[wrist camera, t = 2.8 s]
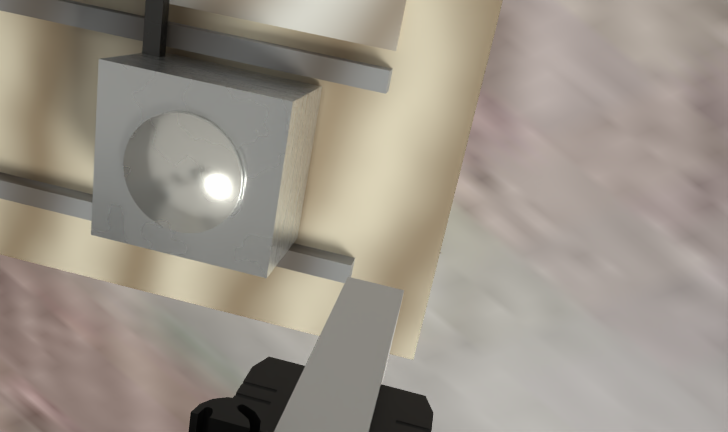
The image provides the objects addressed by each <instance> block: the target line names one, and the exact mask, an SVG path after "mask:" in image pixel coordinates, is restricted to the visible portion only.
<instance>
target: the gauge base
mask: <svg viewBox="0 0 728 432" xmlns="http://www.w3.org/2000/svg"><path fill="white" fill-rule="evenodd" d="M502 1H503V0H170V2H169V15H168V27H167V40H166V53H171V54H175V55H180V56H185V57H189V58H194V59H198V60H203V61H208V62H212V63H217V64H222V65H226V66H231V67H235V68H240V69H245V70H249V71H254V72H258V73H263V74H268V75H272V76H277V77H281V78H286V79H291V80H295V81H300V82H304V83H309V84H314V85H318V86H322V91H321V97H320V103H319V109H318V115H317V122H316V128H315V134H314V140H313V146H312V152H311V158H310V164H309V170H308V176H307V182H306V189H305V195H304V201H303V207H302V213H301V219H300V225H299V231H298V237H297V239H296V241H295V242H294V243H293V244H292V246H291V247H290V248H289V250H288V251H287V252H286V254H285V255H284V256H283V257H282V259H281V260H280V261H279V263H278V264H277V265H276V267H275V268H274V269H273V271H272V272H271V273H270V274H269V276H268V277H267V278H263V277H259V276H255V275H251V274H247V273H243V272H239V271H235V270H231V269H227V268H223V267H219V266H215V265H211V264H207V263H203V262H199V261H195V260H191V259H187V258H183V257H179V256H175V255H170V254H166V253H162V252H158V251H154V250H150V249H146V248H142V247H138V246H134V245H130V244H126V243H122V242H118V241H114V240H110V239H106V238H102V237H98V236H94V235H91V222H92V199H93V177H94V154H95V132H96V109H97V87H98V64H99V59H101V58H109V57H116V56H123V55H130V54H138V53H142V47H143V32H144V17H145V2H146V0H0V254H1V255H5V256H8V257H12V258H16V259H20V260H24V261H28V262H32V263H36V264H40V265H44V266H48V267H52V268H55V269H59V270H63V271H67V272H71V273H75V274H79V275H83V276H87V277H91V278H95V279H99V280H103V281H106V282H110V283H114V284H118V285H122V286H126V287H130V288H134V289H138V290H142V291H146V292H150V293H153V294H157V295H161V296H165V297H169V298H173V299H177V300H181V301H185V302H189V303H193V304H197V305H200V306H204V307H208V308H212V309H216V310H220V311H224V312H228V313H232V314H236V315H240V316H244V317H247V318H251V319H255V320H259V321H263V322H267V323H271V324H275V325H279V326H283V327H287V328H291V329H294V330H298V331H302V332H306V333H310V334H314V335H318V336H320V334H321V332H322V330H323V328H324V326H325V324H326V321H327V319H328V317H329V315H330V313H331V311H332V309H333V307H334V305H335V303H336V300H337V298H338V296H339V294H340V292H341V290H342V288H343V286H344V284H345V282H346V279H347V277H352V278H356V279H360V280H364V281H368V282H372V283H376V284H380V285H384V286H388V287H392V288H396V289H400V290H404V294H403V298H402V302H401V306H400V311H399V315H398V319H397V324H396V328H395V332H394V336H393V341H392V345H391V349H390V354H392V355H396V356H400V357H404V358H408V359H412V360H413V359H414V355H415V351H416V347H417V343H418V339H419V335H420V331H421V326H422V322H423V318H424V314H425V310H426V306H427V302H428V298H429V294H430V290H431V286H432V282H433V278H434V274H435V270H436V266H437V262H438V258H439V254H440V250H441V246H442V242H443V238H444V234H445V230H446V226H447V222H448V218H449V214H450V210H451V206H452V202H453V198H454V194H455V190H456V186H457V182H458V178H459V174H460V170H461V166H462V162H463V158H464V154H465V150H466V146H467V142H468V138H469V134H470V130H471V126H472V122H473V117H474V113H475V109H476V105H477V101H478V97H479V93H480V89H481V85H482V81H483V77H484V73H485V69H486V65H487V61H488V57H489V53H490V49H491V45H492V41H493V37H494V33H495V29H496V25H497V21H498V17H499V13H500V9H501V5H502Z"/></svg>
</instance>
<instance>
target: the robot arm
mask: <svg viewBox="0 0 728 432" xmlns="http://www.w3.org/2000/svg"><path fill="white" fill-rule="evenodd" d="M403 294H404V290H400V289H396V288H392V287H388V286H384V285H380V284H376V283H372V282H368V281H364V280H360V279H356V278H352V277H347V279H346V282H345V284H344V286H343V288H342V290H341V292H340V294H339V296H338V298H337V300H336V303H335V305H334V307H333V309H332V311H331V313H330V315H329V317H328V319H327V321H326V324H325V326H324V328H323V330H322V332H321V334H320V336H319V338H318V340H317V342H316V345H315V347H314V349H313V351H312V353H311V355H310V357H309V359H308V361H307V363H306V366H303V365H299V364H295V363H291V362H287V361H284V360H280V359H276V358H272V357H268V358H266V359H265V360H263V361H261V362H260V363H258V364H256V365H255V366H253V367H252V368H251V370H250V372H249V373H248V375H247V376H246V378H245V380H244V382H243V384H242V385H241V386H240V388H239V389H238V391H237V393H236V396H234V397H233V398H229V397H226V398H217V399H211V400H209V401H206V402H204V403H201V404H199V405H198V406H197V407H196V408H195V409H194V410H193V411H192V412H191V416H190V425H189V432H431V430H432V421H433V411H432V409H431V407H430V405H429V403H428V400H427V398H426V396H424V395H420V394H416V393H412V392H408V391H404V390H401V389H397V388H393V387H389V386H385V385H382V383H383V379H384V375H385V371H386V366H387V362H388V358H389V354H390V349H391V345H392V341H393V336H394V332H395V328H396V324H397V319H398V315H399V311H400V306H401V302H402V298H403Z"/></svg>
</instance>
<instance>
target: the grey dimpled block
mask: <svg viewBox="0 0 728 432" xmlns="http://www.w3.org/2000/svg"><path fill="white" fill-rule="evenodd" d="M169 2H170V0H146V2H145V17H144V32H143V47H142V53H138V54H130V55H123V56H116V57H109V58H101V59H99V64H98V87H97V109H96V132H95V154H94V177H93V199H92V222H91V235H94V236H98V237H102V238H106V239H110V240H114V241H118V242H122V243H126V244H130V245H134V246H138V247H142V248H146V249H150V250H154V251H158V252H162V253H166V254H170V255H175V256H179V257H183V258H187V259H191V260H195V261H199V262H203V263H207V264H211V265H215V266H219V267H223V268H227V269H231V270H235V271H239V272H243V273H247V274H251V275H255V276H259V277H263V278H267V277H268V276H269V274H270V273H271V272H272V271H273V269H274V268H275V267H276V265H277V264H278V263H279V261H280V260H281V259H282V257H283V256H284V255H285V254H286V252H287V251H288V250H289V248H290V247H291V246H292V244H293V243H294V242H295V241H296V239H297V237H298V231H299V225H300V219H301V213H302V207H303V201H304V195H305V189H306V182H307V176H308V170H309V164H310V158H311V152H312V146H313V140H314V134H315V128H316V122H317V115H318V109H319V103H320V97H321V91H322V86H318V85H314V84H309V83H304V82H300V81H295V80H291V79H286V78H281V77H277V76H272V75H268V74H263V73H258V72H254V71H249V70H245V69H240V68H235V67H231V66H226V65H222V64H217V63H212V62H208V61H203V60H198V59H194V58H189V57H185V56H180V55H175V54H171V53H166V40H167V27H168V15H169Z"/></svg>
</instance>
